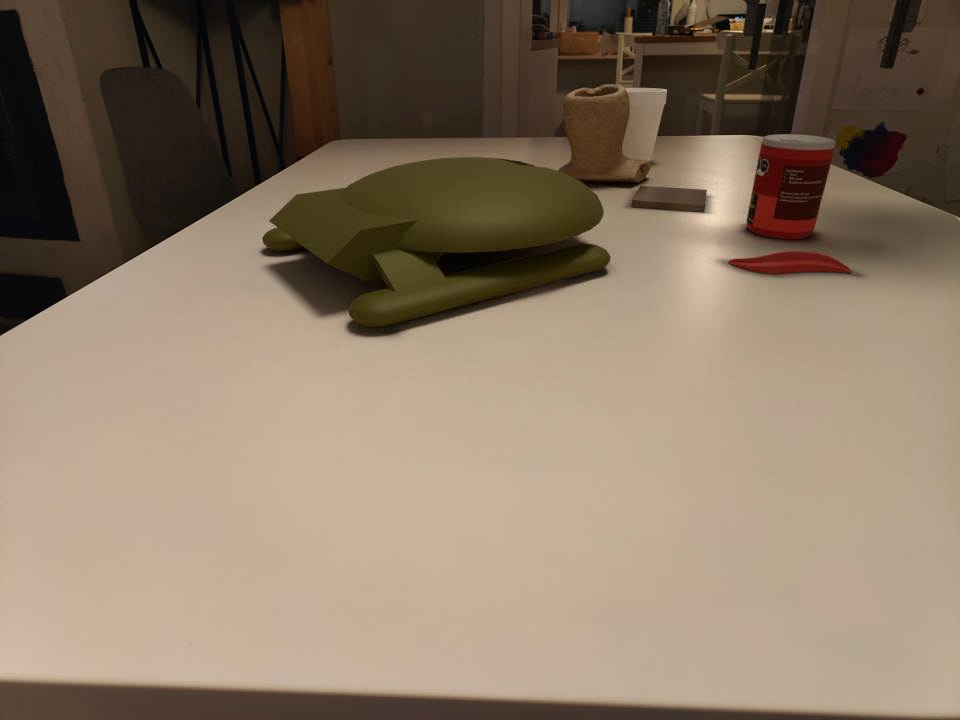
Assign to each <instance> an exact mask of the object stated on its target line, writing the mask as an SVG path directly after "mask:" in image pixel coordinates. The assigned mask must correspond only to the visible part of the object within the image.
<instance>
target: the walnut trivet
mask: <svg viewBox="0 0 960 720" xmlns="http://www.w3.org/2000/svg"><path fill="white" fill-rule="evenodd" d="M707 194H708V189H705V188H704V189H701V188H687V187H684V188H683V187H669V186H655V185H654V186H653V185H639V187H638V189H637V190H636V193H635V194H634V196H633V198H632V200H631V208H642V209H657V210H670V211H683V212H684V211H685V212H699V213H700V212H701V213H704V212H705V211H706V209H705V208H706V202H707Z"/></svg>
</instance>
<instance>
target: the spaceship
mask: <svg viewBox="0 0 960 720" xmlns="http://www.w3.org/2000/svg"><path fill="white" fill-rule="evenodd" d="M604 213H605V210H604V207H603V203H602V201H601V199H600V198H599V195H597V194H596V193H595V192H594V191H593V190H592V189H591V188H590V187H588V186H587V185H586V184H585V183H584V182H582V180H577V179H575V178H573V177H571V176H569V175H567V174H564V173H562V172H560V171H558V170H557V169H556V170H555V169H552V168H549V167H544V166H537V165H535V164H531V163H527V162H523V161H521V160H519V161H518V160H515V159H514V160H513V159H507V158H498V157H481V156H458V157H457V156H456V157H441V158H432V159H431V158H430V159H424V160H419V161H413V162H407V163H403V164H398V165H394V166H390V167H388V168H387V167H386V168H384V169H381V170H378V171H376V172H372V173H370V174H368V175H365V176H363V177H361V178H360V179H357V180H356V181H353V182H352V183H350V184H349V185H347V186H345V187H339V188H333V189H327V190H326V189H325V190H319V191H318V190H317V191H311V192H304V193H297V194H295V195H294V196H293V197H292V198H291V199H290V200H289V201H288V202H287V203H285V204H284V206H283V207H282V208H280V210H278V212H276V213H275V214H274V215H273V216H272V217H271V218H270V219H269V220H268V222H269V223H271V224H272V225H273V226H274V227H273V228H271V229H269V230H268V231H266V232H265V233H264V234H263V236H262V237H261V239H262V243H263V245H264V246H265V247H266V248H267V249H270V250H274V251H277V252H288V251H293V250H300V249H304V248H305V249H306V250H308V251H309V252H310V253H311V254H313V255H314V256H316V257H317V258H318V259H320V260H321V261H322V262H324V263H325V264H327V265H328V266H331V267H334V268H336V269H338V270H340V271H342V272H345V273H346V274H349V275H350V276H353V277H355V278H358V279H360V280H362V281H364V282H368V281H372V280H377V279H383V281H384V284H385V285H386V286H387V287H386V288H383V289H379V290H373V291H370V292H367V293H364V294H361V295H358V296H357V297H356V298H354V299H353V300H352V301H351V303H350V304H349V305H348V306H349V307H348V308H347V309H348V315H349V317H350V319H351V320H352V321H353V322H355V323H357V324H358V325H360V326H364V327H371V328H381V327H387V326H392V325H393V326H394V325H396V324H401V323H404V322H408V321H411V320H415V319H419V318H422V317H426V316H430V315H434V314H438V313H443V312H446V311H450V310H453V309H456V308H460V307H465V306H468V305H472V304H475V303H480V302H483V301H486V300H490V299H491V300H492V299H495V298H499V297H502V296H505V295H509V294H513V293H518V292H521V291H525V290H528V289H533V288H536V287H540V286H543V285H548V284H551V283H555V282H560V281H562V280H567V279H571V278H574V277H578V276H581V275H585V274H589V273H593V272H597V271H599V270H602V269H605V267H606V266H608V265H609V264H610V262H611V254H610V253H609V252H608V250H607V249H606V248H604V247H602V246H599V245H598V244H593V243H577V244H573V245H569V246H564V247H559V248H555V249H551V250H547V251H543V252H539V253H534V254H529V255H526V256H522V257H517V258H513V259H507V260H504V261H500V262H496V263H491V264H487V265H482V266H478V267H473V268H469V269H464V270H461V271H458V272H453V273H452V272H451V273H447V274H444V273H443V272H442V270H441V269H440V267H439V265H438V264H437V262H438V260H439V259H440V258H441V257H442V256H443V255H445V253H458V254H459V253H460V254H461V253H484V252H485V253H486V252H487V253H489V252H501V251H509V250H519V249H527V248H533V247H537V246H544V245H550V244H554V243H558V242H562V241H565V240H568V239H573V238H575V237H578V236H580V235H582V234H584V233H586V232H589V231H592V229H594V228H596V226H598V225H599V224H601V222H602V219H603V217H604Z"/></svg>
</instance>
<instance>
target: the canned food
mask: <svg viewBox="0 0 960 720" xmlns="http://www.w3.org/2000/svg"><path fill="white" fill-rule="evenodd" d="M835 148H836V140H834V139H833V138H829V137H825V136H820V135H819V136H817V135H809V134H792V133H791V134H790V133H785V134H784V133H781V134H780V133H779V134H769V135H765V136H763V138H762V141H761V144H760V150H759V154H758V157H757V164H756V169H755V175H754V178H753V185H752V189H751V190H752V191H751V196H750V200H749V206H748V211H747V217H746V227H747V229H748V230H749V231H750V232H752V233H754V234H757V235H759V236H763V237H767V238H772V239H780V240H801V239H805V238H808V237H810V236H811V235H812V233H813V232H814V230H815V229H816V228H815V227H816V225H817V220H818V216H819V212H820V208H821V204H822V201H823V196H824V192H825V188H826V185H827V180H828V176H829V173H830V168H831V165H832V161H833V158H834V153H835Z"/></svg>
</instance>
